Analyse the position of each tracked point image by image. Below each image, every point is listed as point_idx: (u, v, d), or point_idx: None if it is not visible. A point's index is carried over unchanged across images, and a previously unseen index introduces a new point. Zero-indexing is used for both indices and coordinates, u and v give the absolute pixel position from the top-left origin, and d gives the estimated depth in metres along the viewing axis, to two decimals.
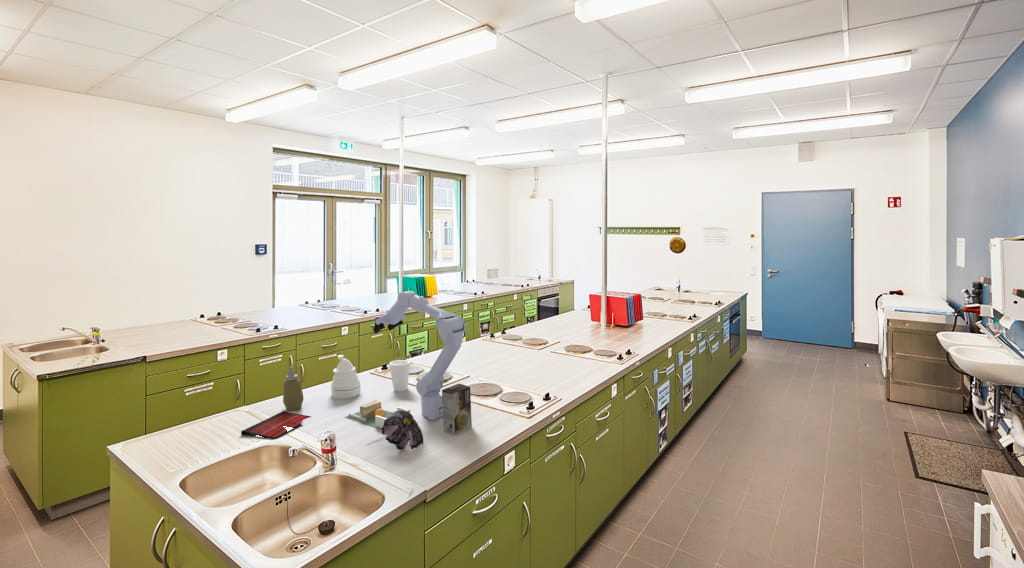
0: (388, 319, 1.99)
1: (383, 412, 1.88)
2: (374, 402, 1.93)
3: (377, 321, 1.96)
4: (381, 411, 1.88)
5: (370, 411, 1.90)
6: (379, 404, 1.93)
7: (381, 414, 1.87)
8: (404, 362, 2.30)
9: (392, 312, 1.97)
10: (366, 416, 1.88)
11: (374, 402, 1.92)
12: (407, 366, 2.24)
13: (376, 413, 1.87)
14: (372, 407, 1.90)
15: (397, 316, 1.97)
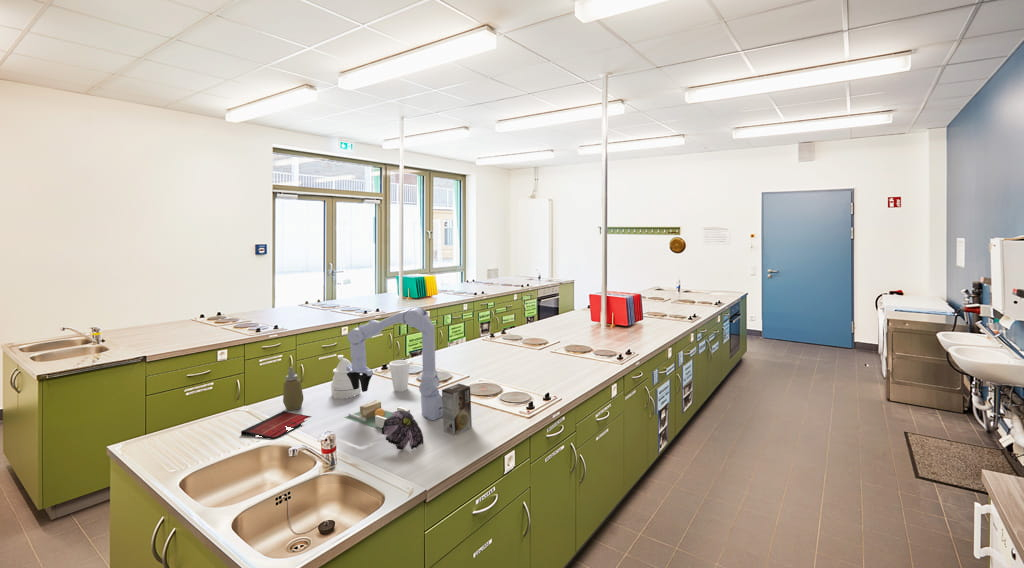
0: (365, 367, 1.93)
1: (383, 412, 1.88)
2: (374, 402, 1.93)
3: (370, 372, 1.89)
4: (381, 411, 1.88)
5: (370, 411, 1.90)
6: (379, 404, 1.93)
7: (381, 414, 1.87)
8: (404, 362, 2.30)
9: (356, 358, 1.90)
10: (366, 416, 1.88)
11: (374, 402, 1.92)
12: (407, 366, 2.24)
13: (376, 413, 1.87)
14: (372, 407, 1.90)
15: (365, 356, 1.94)
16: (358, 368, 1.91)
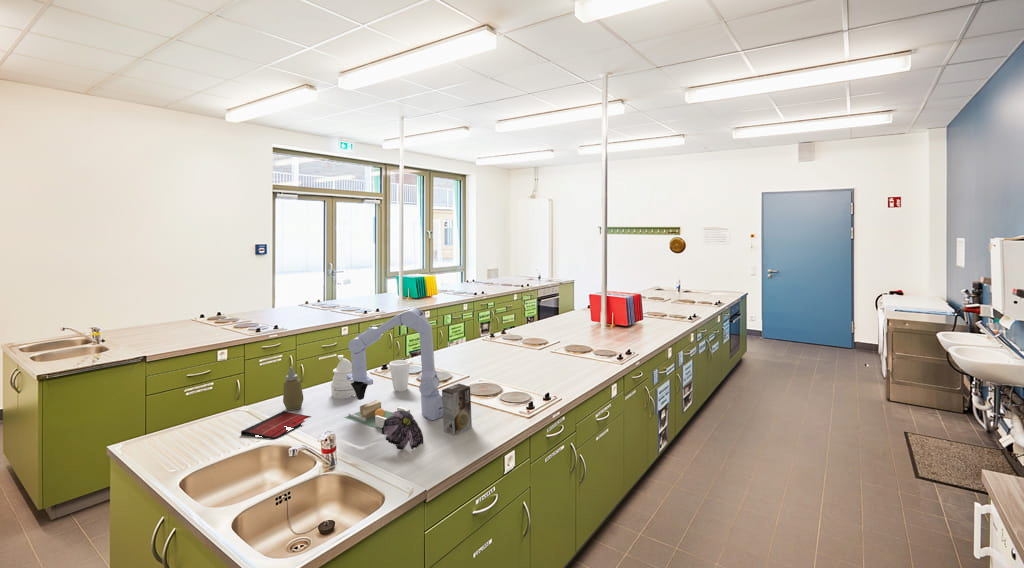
0: (365, 376, 1.93)
1: (383, 412, 1.88)
2: (374, 402, 1.93)
3: (371, 381, 1.90)
4: (381, 411, 1.88)
5: (370, 411, 1.90)
6: (379, 404, 1.93)
7: (381, 414, 1.87)
8: (404, 362, 2.30)
9: (356, 367, 1.91)
10: (366, 416, 1.88)
11: (374, 402, 1.92)
12: (407, 366, 2.24)
13: (376, 413, 1.87)
14: (372, 407, 1.90)
15: None
16: (358, 377, 1.91)
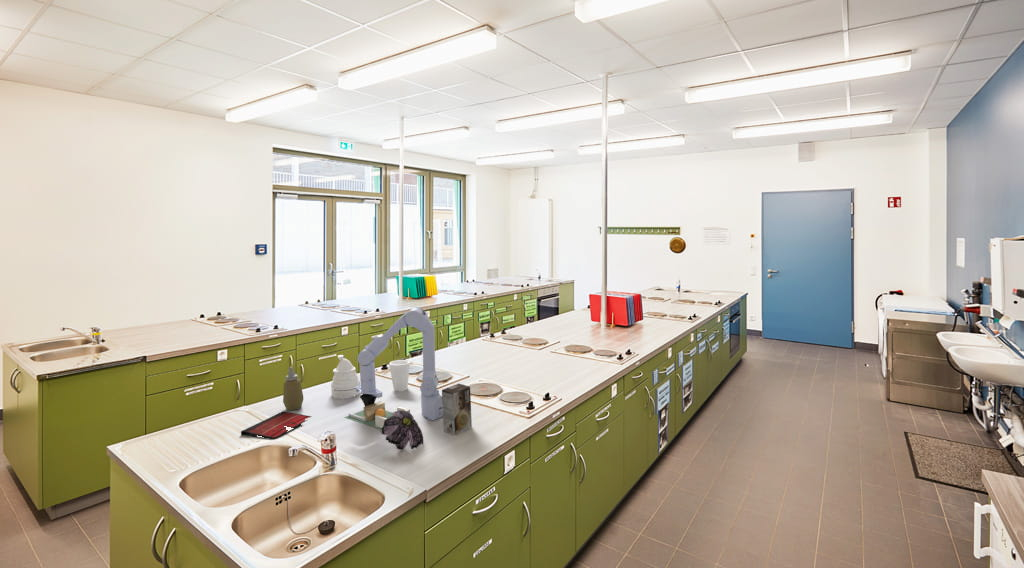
0: (374, 388, 1.91)
1: (384, 413, 1.88)
2: (378, 403, 1.92)
3: (380, 394, 1.87)
4: (382, 412, 1.87)
5: (374, 413, 1.89)
6: (383, 405, 1.92)
7: (382, 415, 1.87)
8: (404, 362, 2.30)
9: (366, 380, 1.88)
10: (370, 417, 1.87)
11: (378, 404, 1.91)
12: (407, 366, 2.24)
13: (377, 413, 1.87)
14: (376, 408, 1.89)
15: None
16: (367, 390, 1.89)
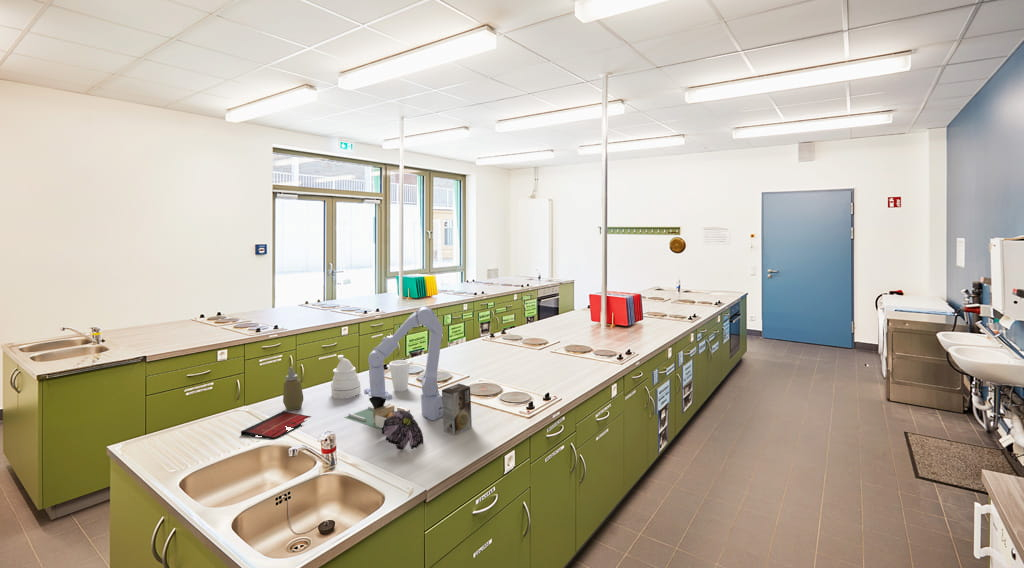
0: (384, 391, 1.87)
1: None
2: (387, 406, 1.88)
3: (390, 396, 1.84)
4: None
5: (383, 416, 1.85)
6: (392, 408, 1.89)
7: None
8: (404, 362, 2.30)
9: (377, 382, 1.85)
10: None
11: (387, 406, 1.88)
12: (407, 366, 2.24)
13: None
14: (385, 411, 1.86)
15: None
16: (377, 392, 1.85)
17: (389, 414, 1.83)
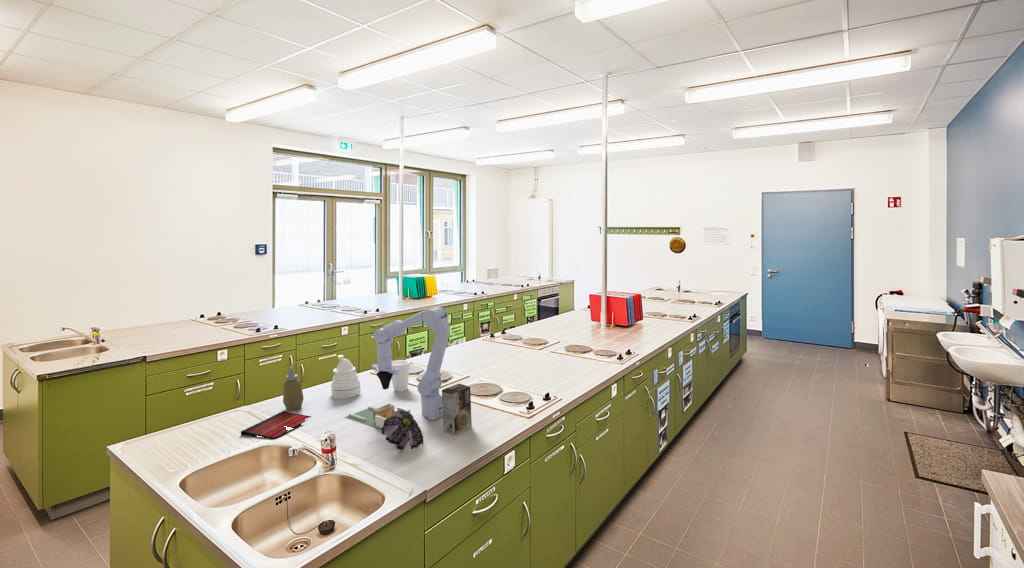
0: (391, 366, 1.97)
1: None
2: (387, 406, 1.88)
3: (396, 371, 1.94)
4: None
5: (383, 416, 1.85)
6: (392, 408, 1.89)
7: None
8: (404, 362, 2.30)
9: (381, 357, 1.94)
10: None
11: (387, 406, 1.88)
12: (407, 366, 2.24)
13: None
14: (385, 411, 1.86)
15: None
16: (384, 367, 1.95)
17: (385, 415, 1.85)
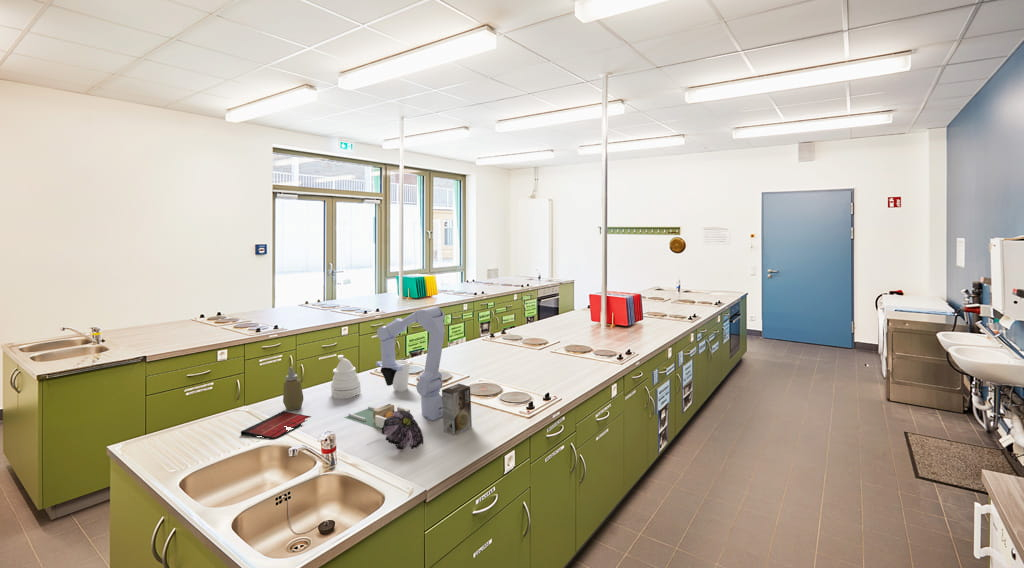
0: (394, 363, 2.02)
1: None
2: (387, 406, 1.88)
3: (400, 368, 1.99)
4: None
5: (383, 416, 1.85)
6: (392, 408, 1.89)
7: None
8: (404, 362, 2.30)
9: (383, 354, 2.00)
10: None
11: (387, 406, 1.88)
12: (407, 366, 2.24)
13: None
14: (385, 411, 1.86)
15: None
16: (388, 364, 2.00)
17: (385, 415, 1.85)
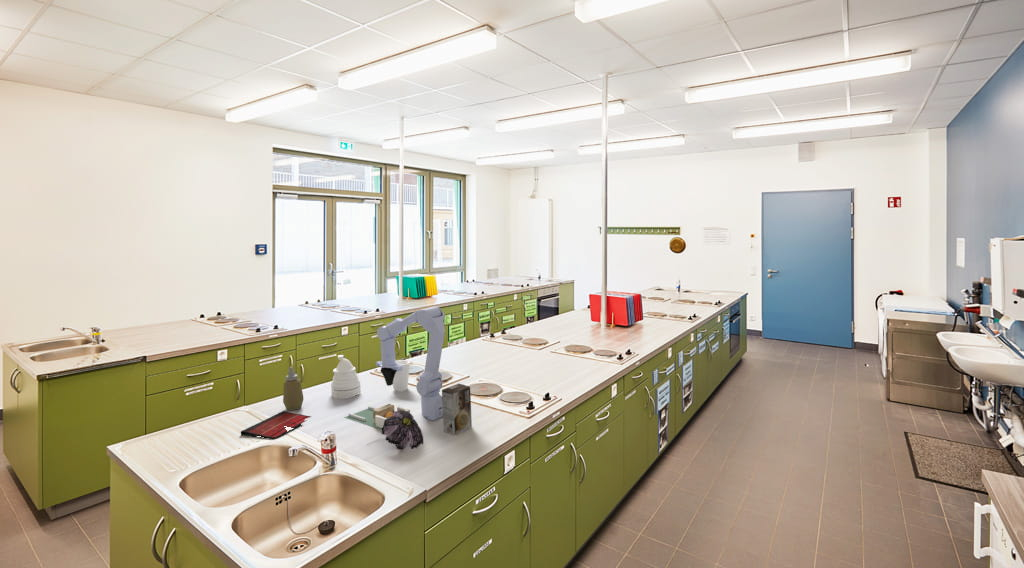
0: (394, 363, 2.02)
1: None
2: (387, 406, 1.88)
3: (400, 368, 1.99)
4: None
5: (383, 416, 1.85)
6: (392, 408, 1.89)
7: None
8: (404, 362, 2.30)
9: (383, 354, 2.00)
10: None
11: (387, 406, 1.88)
12: (407, 366, 2.24)
13: None
14: (385, 411, 1.86)
15: None
16: (388, 364, 2.00)
17: (385, 415, 1.85)
